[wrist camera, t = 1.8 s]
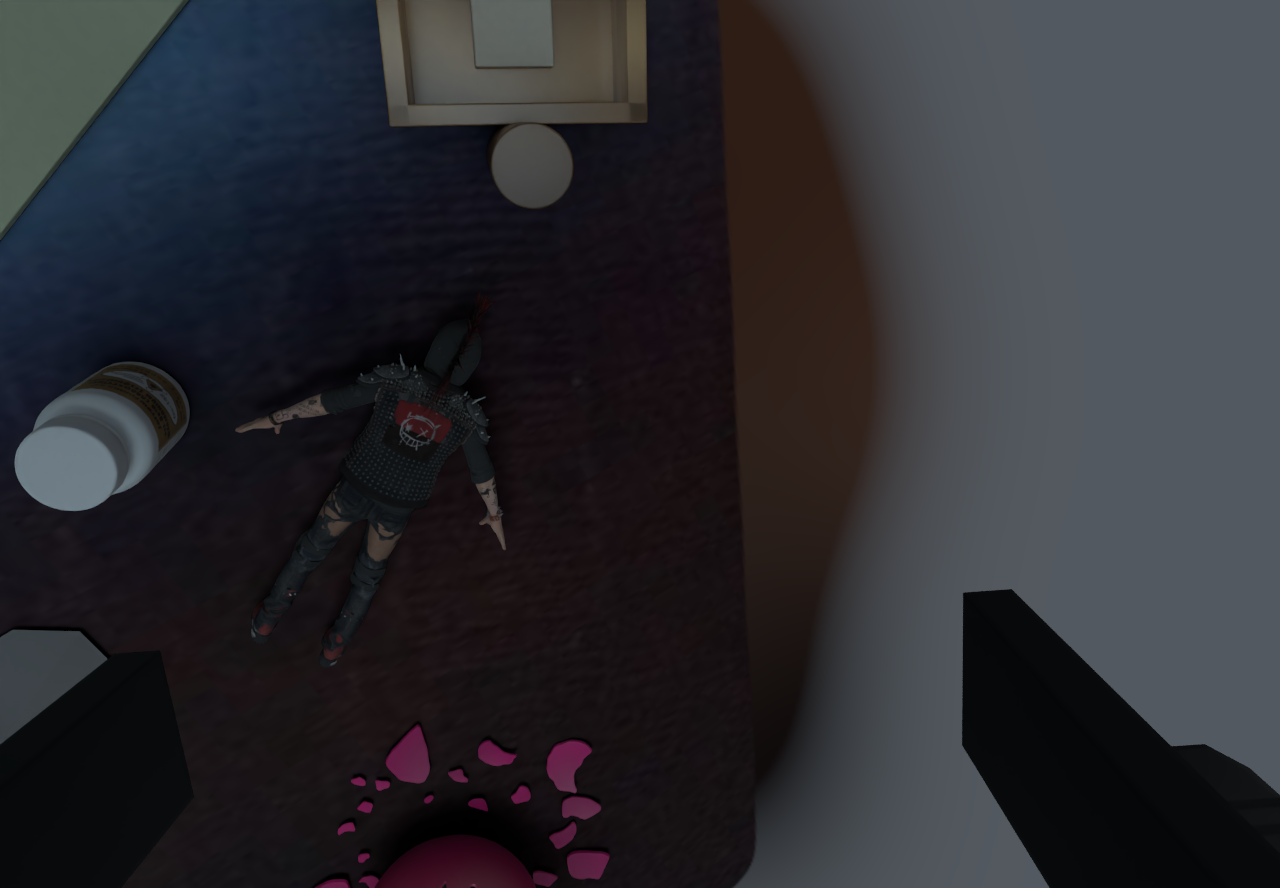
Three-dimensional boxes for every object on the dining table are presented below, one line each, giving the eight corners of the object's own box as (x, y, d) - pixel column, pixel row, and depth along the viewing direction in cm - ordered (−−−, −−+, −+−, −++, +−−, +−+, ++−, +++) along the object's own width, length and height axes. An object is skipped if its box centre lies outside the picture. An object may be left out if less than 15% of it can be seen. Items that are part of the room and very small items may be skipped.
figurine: (129, 630, 37) (328, 222, 32) (174, 562, 43) (351, 202, 38) (416, 732, 42) (630, 385, 37) (424, 658, 47) (612, 347, 42)
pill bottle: (211, 397, 40) (154, 458, 33) (157, 469, 40) (90, 544, 33) (119, 339, 38) (38, 389, 31) (65, 414, 39) (-27, 481, 32)
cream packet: (466, -51, 35) (465, -57, 34) (546, -50, 35) (548, -56, 34) (475, 68, 36) (475, 67, 35) (552, 68, 37) (554, 66, 36)
